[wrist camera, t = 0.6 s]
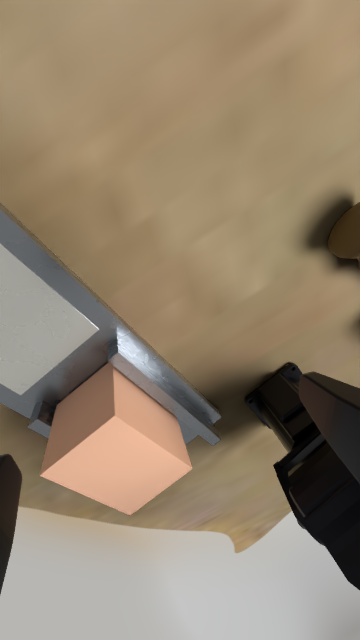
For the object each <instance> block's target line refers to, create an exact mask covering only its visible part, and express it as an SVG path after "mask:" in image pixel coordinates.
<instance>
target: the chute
mask: <svg viewBox="0 0 360 640" xmlns="http://www.w3.org/2000/svg"><path fill="white" fill-rule="evenodd" d="M107 363H111V364H112V365H113V366H114V367H116V368H117V369H118V370H119V371H120V372H122V373H123V374H124V375H125V376H127V377H128V378H129V379H130V380H132V381H133V382H134V383H135V384H137V385H138V386H139V387H140V388H142V389H143V390H144V391H145V392H146V393H148V394H149V395H150V396H151V397H153V398H154V399H155V400H156V401H158V402H159V403H160V404H161V405H163V406H164V407H165V408H166V409H168V410H169V411H170V412H171V413H172V414H174V415H175V416H176V417H177V420H178V424H179V427H180V430H181V433H182V436H183V439H184V443H185V445H186V444H187V443H189V442H190V441H191V440H193V439H194V438H195V437H197V436H198V435H200V436H201V437H202V438H203V439H205V440H206V441H207V442H208V443H210V444H211V445H212V446H213V445H215V444H216V443H217V442H219V441H220V440H221V439H220V437H219V435H218V433H217V430H216V428H215V426H214V423H215V422H216V421H218V420H219V419H220V418H222V417H221V415H220V413H219V411H218V410H217V409H216V408H215V407H214V406H213V405H212V404H211V403H210V402H209V401H208V400H207V399H206V398H205V397H204V396H203V395H202V394H201V393H200V392H198V391H197V390H196V389H195V388H194V387H193V386H192V385H191V384H190V383H189V382H188V381H187V380H186V379H185V378H184V377H183V376H182V375H181V374H180V373H178V372H177V371H176V370H175V369H174V368H173V367H172V366H171V365H170V364H169V363H168V362H167V361H166V360H165V359H164V358H163V357H162V356H161V355H160V354H158V353H157V352H156V351H155V350H154V349H153V348H152V347H151V346H150V345H149V344H148V343H147V342H146V341H145V340H144V339H143V338H142V337H141V336H140V335H138V334H137V333H136V332H135V331H134V330H133V329H132V328H131V327H130V326H129V325H128V324H127V323H126V322H125V321H124V320H123V319H122V318H121V317H120V316H118V315H117V314H116V313H115V312H114V311H113V310H112V309H111V308H110V307H109V306H108V305H107V304H106V303H105V302H104V301H103V300H102V299H101V298H100V297H98V296H97V295H96V294H95V293H94V292H93V291H92V290H91V289H90V288H89V287H88V286H87V285H86V284H85V283H84V282H83V281H82V280H81V279H80V278H78V277H77V276H76V275H75V274H74V273H73V272H72V271H71V270H70V269H69V268H68V267H67V266H66V265H65V264H64V263H63V262H62V261H61V260H60V259H58V258H57V257H56V256H55V255H54V254H53V253H52V252H51V251H50V250H49V249H48V248H47V247H46V246H45V245H44V244H43V243H42V242H41V241H40V240H39V239H37V238H36V237H35V236H34V235H33V234H32V233H31V232H30V231H29V230H28V229H27V228H26V227H25V226H24V225H23V224H22V223H21V222H20V221H19V220H17V219H16V218H15V217H14V216H13V215H12V214H11V213H10V212H9V211H8V210H7V209H6V208H5V207H4V206H3V205H2V204H1V203H0V403H1V404H3V405H5V406H7V407H8V408H10V409H12V410H14V411H16V412H18V413H19V414H21V415H23V416H25V417H27V418H28V419H30V420H29V423H28V426H27V428H29V429H31V430H33V431H35V432H37V433H39V434H41V435H43V436H44V437H46V438H48V439H49V435H50V431H51V426H52V422H53V418H54V414H55V410H56V406H57V404H59V403H60V402H61V401H62V400H64V399H65V398H66V397H67V396H68V395H70V394H71V393H72V392H73V391H74V390H76V389H77V388H78V387H79V386H81V385H82V384H83V383H84V382H85V381H87V380H88V379H89V378H90V377H91V376H93V375H94V374H95V373H96V372H98V371H99V370H100V369H101V368H102V367H104V366H105V365H106V364H107Z"/></svg>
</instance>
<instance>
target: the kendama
mask: <svg viewBox="0 0 360 640" xmlns="http://www.w3.org/2000/svg"><path fill="white" fill-rule="evenodd" d="M327 245H328V247H329V250H330V252H331V253H333V254H334V255H336V256H338V257H339V258H351V259H354V258H357V259H358V260H359V262H358V267H359V269H360V202H359V203H357V204H356V205H355V206H353V207H352V208H350V209H349V210H348V211H346V212H345V213H344V215H343V216H342V217H341V218H340V219H339V220H338V221H337V223H336V224H335V226H334V227H333V229H332V231H331V233H330V236H329V239H328V243H327Z"/></svg>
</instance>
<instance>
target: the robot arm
mask: <svg viewBox="0 0 360 640" xmlns="http://www.w3.org/2000/svg"><path fill="white" fill-rule="evenodd" d="M245 402H246V404H247V405H248V406H249V407H250V408H251V409H252V410H253V411H254V412H255V414H256V415H257V416H258V417H259V418H260V419H261V420H262V421H263V422H264V423H265V424H266V425H267V426H268V428H269V429H272V430H273V432H274V433H275V434H276V436H277V437H278V439H279V440H280V441H281V443H282V444H283V446H284V447H285V449H286V450H287V451H288V454H287V455H286V456H285V457H284V458H282V459H281V460H280V461H279V462H278V461H277V462H276V463H275V464H274V465H273V466H274V469H275V471H276V473H277V477H278V479H279V482H280V484H281V486H282V488H283V491H284V493H285V495H286V497H287V500H288V502H289V504H290V507H291V509H292V511H293V513H294V515H295V517H296V518H297V521H298V524H299V525H300V526H301V527H302V528H303V529H306V530H307V531H308V532H309V533H310V535H311V536H312V537H313V538H314V539H315V540H316V541H318V542H319V543H320V544H322V545H324V546H325V547H326V548H327V549H328V551H329V552H330V554H331V555H332V557H333V558H334V560H335V562H336V563H337V565H338V566H339V568H340V569H341V571H342V572H343V574H344V576H345V577H346V578H347V580H348V581H349V582H350V583H351V584H353V585H354V586H355V587H356V588H358V589H359V590H360V388H357V387H354V386H351V385H349V384H346V383H343V382H341V381H338V380H335V379H333V378H330V377H327V376H325V375H322V374H319V373H316V372H309V373H305V374H302V372H301V371H300V369H299V368H298V366H297V365H296V364H294V363H290V364H289V365H287V366H286V367H285V368H284V369H282V370H281V371H280V372H278V373H277V374H276V375H274V376H273V377H272V378H270V379H269V380H268V381H266V382H265V383H264V384H263V385H261V386H260V387H259V388H257V389H256V390H255V391H253V392H252V393H251V394H249V395H248V396H247V397H246V398H245ZM21 484H22V474H21V471H20V469H19V468H18V466H17V464H16V463H15V461H14V459H13V458H12V456H11V455H9V454H4V455H0V594H1V589H2V585H3V581H4V577H5V573H6V569H7V565H8V561H9V557H10V552H11V548H12V544H13V537H14V532H15V526H16V519H17V511H18V505H19V498H20V491H21Z"/></svg>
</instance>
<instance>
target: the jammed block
mask: <svg viewBox="0 0 360 640" xmlns="http://www.w3.org/2000/svg"><path fill="white" fill-rule="evenodd" d="M191 469H193V468H192V465H191V462H190V459H189V455H188V452H187V449H186V446H185V443H184V439H183V436H182V433H181V430H180V427H179V424H178V420H177V417H176V416H175V415H174V414H172V413H171V412H170V411H169V410H168V409H166V408H165V407H164V406H163V405H161V404H160V403H159V402H158V401H156V400H155V399H154V398H153V397H151V396H150V395H149V394H148V393H146V392H145V391H144V390H143V389H142V388H140V387H139V386H138V385H137V384H135V383H134V382H133V381H132V380H130V379H129V378H128V377H127V376H125V375H124V374H123V373H122V372H120V371H119V370H118V369H117V368H116V367H114V366H113V365H112V364H111V363H107V364H106V365H105V366H104V367H102V368H101V369H100V370H99V371H98V372H96V373H95V374H94V375H93V376H91V377H90V378H89V379H88V380H87V381H85V382H84V383H83V384H82V385H81V386H79V387H78V388H77V389H76V390H74V391H73V392H72V393H71V394H70V395H68V396H67V397H66V398H65V399H64V400H62V401H61V402H60V403H59V404H57V406H56V410H55V414H54V418H53V422H52V426H51V431H50V435H49V439H48V443H47V447H46V451H45V455H44V459H43V464H42V468H41V472H40V476H42V477H44V478H46V479H48V480H51V481H53V482H55V483H58V484H60V485H62V486H64V487H67V488H69V489H71V490H73V491H76V492H78V493H80V494H83V495H85V496H87V497H89V498H92V499H94V500H96V501H98V502H101V503H103V504H105V505H108V506H110V507H112V508H114V509H117V510H119V511H121V512H123V513H126V514H128V515H131V514H133V513H134V512H135V511H137V510H138V509H139V508H141V507H142V506H143V505H145V504H146V503H147V502H149V501H150V500H151V499H153V498H154V497H155V496H157V495H158V494H159V493H161V492H162V491H163V490H165V489H166V488H167V487H169V486H170V485H171V484H173V483H174V482H175V481H177V480H178V479H179V478H181V477H182V476H183V475H185V474H186V473H187V472H189V471H190V470H191Z"/></svg>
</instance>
